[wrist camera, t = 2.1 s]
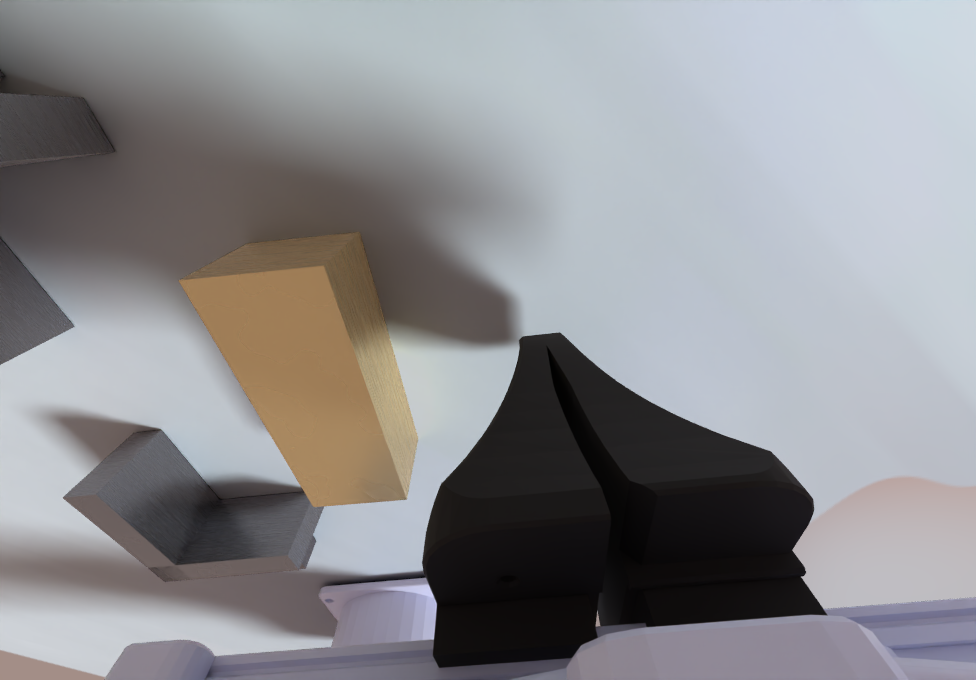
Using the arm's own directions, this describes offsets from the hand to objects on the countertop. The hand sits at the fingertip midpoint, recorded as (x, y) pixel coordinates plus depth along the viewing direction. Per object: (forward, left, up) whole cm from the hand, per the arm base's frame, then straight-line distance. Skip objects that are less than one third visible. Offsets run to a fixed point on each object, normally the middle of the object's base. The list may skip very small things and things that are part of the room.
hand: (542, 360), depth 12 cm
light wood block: (0, +7, -2) cm, 7 cm away
